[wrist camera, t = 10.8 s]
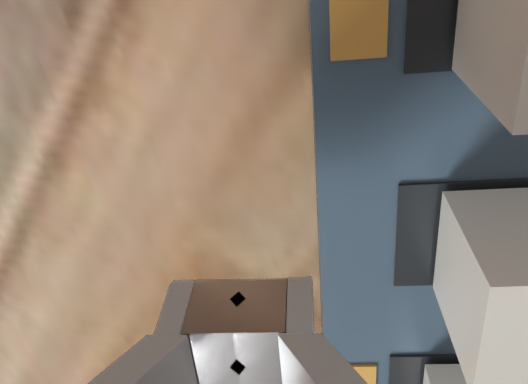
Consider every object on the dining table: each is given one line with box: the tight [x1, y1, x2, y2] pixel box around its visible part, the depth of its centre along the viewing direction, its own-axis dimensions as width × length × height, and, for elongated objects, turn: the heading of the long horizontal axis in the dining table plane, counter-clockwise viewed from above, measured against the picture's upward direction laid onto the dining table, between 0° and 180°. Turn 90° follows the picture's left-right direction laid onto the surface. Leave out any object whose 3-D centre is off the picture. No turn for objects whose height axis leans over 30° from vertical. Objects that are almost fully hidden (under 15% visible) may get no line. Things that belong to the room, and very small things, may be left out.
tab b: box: [433, 188, 528, 384], centre depth 11 cm, size 3×3×4 cm
